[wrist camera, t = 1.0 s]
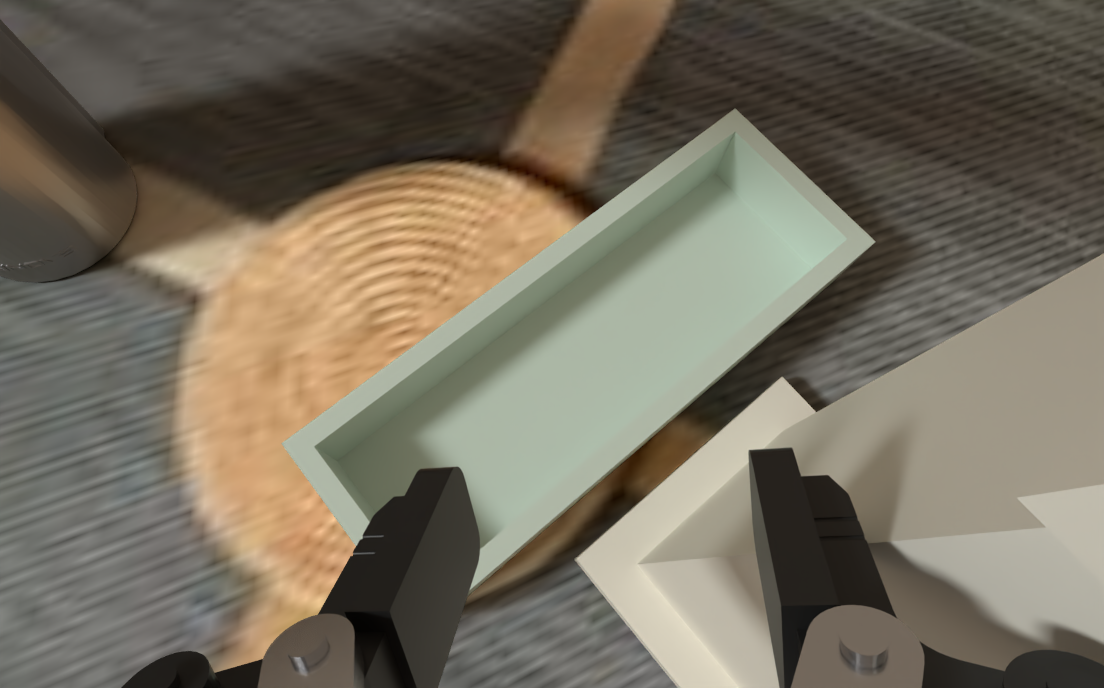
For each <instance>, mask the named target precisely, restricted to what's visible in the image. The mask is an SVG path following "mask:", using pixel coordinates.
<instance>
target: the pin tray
mask: <svg viewBox="0 0 1104 688" xmlns="http://www.w3.org/2000/svg"><path fill="white" fill-rule="evenodd" d="M874 243H875V241H874V240H873V239H872V238H871V237H870V236H869V235H868V234H867V233H866V232H865V231H864V230H863V229H862V228H861V227H860V226H859V225H857V224H856V223H855V222H854V221H853V220H852V219H851V218H850V217H849V216H848V215H847V214H846V213H845V212H844V211H843V210H842V209H841V208H840V207H839V206H837V205H836V204H835V203H834V202H833V201H832V200H831V199H830V198H829V197H828V196H827V195H826V194H825V193H824V192H823V191H822V190H821V189H820V188H818V187H817V186H816V185H815V184H814V183H813V182H812V181H811V180H810V179H809V178H808V177H807V176H806V175H805V174H804V173H803V172H802V171H801V170H800V169H798V168H797V167H796V166H795V165H794V164H793V163H792V162H791V161H790V160H789V159H788V158H787V157H786V156H785V155H784V154H783V153H782V152H781V151H779V150H778V149H777V148H776V147H775V146H774V145H773V144H772V143H771V142H770V141H769V140H768V139H767V138H766V137H765V136H764V135H763V134H762V133H761V132H759V131H758V130H757V129H756V128H755V127H754V126H753V125H752V124H751V123H750V122H749V121H748V120H747V119H746V118H745V117H744V116H743V115H742V114H740V113H739V112H738V111H737V110H736V109H734V110H733V111H731V112H730V113H728V114H727V115H726V116H724V117H723V118H722V119H720V120H719V121H718V122H716V123H715V124H714V125H712V126H711V127H710V128H708V129H707V130H705V131H704V132H703V133H701V134H700V135H699V136H697V137H696V138H695V139H693V140H692V141H691V142H689V143H688V144H686V145H685V146H684V147H682V148H681V149H680V150H678V151H677V152H676V153H674V154H673V155H672V156H670V157H669V158H668V159H666V160H665V161H663V162H662V163H661V164H659V165H658V166H657V167H655V168H654V169H653V170H651V171H650V172H649V173H647V174H646V175H644V176H643V177H642V178H640V179H639V180H638V181H636V182H635V183H634V184H632V185H631V186H630V187H628V188H627V189H626V190H624V191H623V192H621V193H620V194H619V195H617V196H616V197H615V198H613V199H612V200H611V201H609V202H608V203H607V204H605V205H604V206H603V207H601V208H600V209H598V210H597V211H596V212H594V213H593V214H592V215H590V216H589V217H588V218H586V219H585V220H584V221H582V222H581V223H579V224H578V225H577V226H575V227H574V228H573V229H571V230H570V231H569V232H567V233H566V234H565V235H563V236H562V237H561V238H559V239H558V240H556V241H555V242H554V243H552V244H551V245H550V246H548V247H547V248H546V249H544V250H543V251H542V252H540V253H539V254H537V255H536V256H535V257H533V258H532V259H531V260H529V261H528V262H527V263H525V264H524V265H523V266H521V267H520V268H519V269H517V270H516V271H514V272H513V273H512V274H510V275H509V276H508V277H506V278H505V279H504V280H502V281H501V282H500V283H498V284H497V285H495V286H494V287H493V288H491V289H490V290H489V291H487V292H486V293H485V294H483V295H482V296H481V297H479V298H478V299H477V300H475V301H474V302H472V303H471V304H470V305H468V306H467V307H466V308H464V309H463V310H462V311H460V312H459V313H458V314H456V315H455V316H454V317H452V318H451V319H449V320H448V321H447V322H445V323H444V324H443V325H441V326H440V327H439V328H437V329H436V330H435V331H433V332H432V333H430V334H429V335H428V336H426V337H425V338H424V339H422V340H421V341H420V342H418V343H417V344H416V345H414V346H413V347H412V348H410V349H409V350H407V351H406V352H405V353H403V354H402V355H401V356H399V357H398V358H397V359H395V360H394V361H393V362H391V363H390V364H388V365H387V366H386V367H384V368H383V369H382V370H380V371H379V372H378V373H376V374H375V375H374V376H372V377H371V378H370V379H368V380H367V381H365V382H364V383H363V384H361V385H360V386H359V387H357V388H356V389H355V390H353V391H352V392H351V393H349V394H348V395H347V396H345V397H344V398H342V399H341V400H340V401H338V402H337V403H336V404H334V405H333V406H332V407H330V408H329V409H328V410H326V411H325V412H323V413H322V414H321V415H319V416H318V417H317V418H315V419H314V420H313V421H311V422H310V423H309V424H307V425H306V426H305V427H303V428H302V429H300V430H299V431H298V432H296V433H295V434H294V435H292V436H291V437H290V438H288V439H287V440H286V441H284V442H283V443H281V444H282V445H283V446H284V448H285V449H286V450H287V452H288V453H289V455H290V456H291V457H292V459H293V460H294V461H295V463H296V464H297V466H298V467H299V468H300V470H301V471H302V472H303V474H304V475H305V477H306V478H307V479H308V481H309V482H310V483H311V485H312V486H313V488H314V489H315V490H316V492H317V493H318V494H319V496H320V497H321V499H322V500H323V501H324V503H325V504H326V505H327V507H328V508H329V510H330V511H331V512H332V514H333V515H334V517H335V518H336V519H337V521H338V522H339V523H340V525H341V526H342V528H343V529H344V530H345V532H346V533H347V534H348V536H349V537H350V539H351V540H352V541H353V543H354V544H355V545H356V546H357V544H358V542H359V541H360V539H363V536H362V535H363V533H364V532H365V530H366V528H367V526H368V524H369V523H370V521H371V519H372V517H373V516H374V514H375V513H376V512H378V511H379V510H380V509H381V508H382V507H383V506H384V505H385V504H386V503H387V502H389V501H390V500H391V499H392V498H393V497H395V496H405V494H406V492H407V490H408V488H409V486H410V484H411V482H412V480H413V478H414V476H415V474H416V473H417V471H418V470H419V469H425V468H442V467H459V468H460V469H461V470H462V472H463V474H464V478H465V481H466V485H467V489H468V492H469V496H470V500H471V503H472V507H473V511H474V515H475V518H476V522H477V526H478V530H479V536H480V556H479V562H478V565H477V569H476V572H475V575H474V578H473V581H472V584H471V587H470V590H469V593H468V595H470V594H471V593H472V592H473V591H474V590H475V589H477V588H478V587H479V586H480V585H481V584H482V583H484V582H485V581H486V580H487V579H488V578H489V577H491V576H492V575H493V574H494V573H495V572H496V571H498V570H499V569H500V568H501V567H502V566H503V565H504V564H506V563H507V562H508V561H509V560H510V559H511V558H513V557H514V556H515V555H516V554H517V553H518V552H520V551H521V550H522V549H523V548H524V547H525V546H527V545H528V544H529V543H530V542H531V541H532V540H534V539H535V538H536V537H537V536H538V535H539V534H541V533H542V532H543V531H544V530H545V529H546V528H547V527H549V526H550V525H551V524H552V523H553V522H554V521H556V520H557V519H558V518H559V517H560V516H561V515H563V514H564V513H565V512H566V511H567V510H568V509H570V508H571V507H572V506H573V505H574V504H575V503H577V502H578V501H579V500H580V499H581V498H582V497H584V496H585V495H586V494H587V493H588V492H589V491H590V490H592V489H593V488H594V487H595V486H596V485H597V484H599V483H600V482H601V481H602V480H603V479H604V478H606V477H607V476H608V475H609V474H610V473H611V472H613V471H614V470H615V469H616V468H617V467H618V466H620V465H621V464H622V463H623V462H624V461H625V460H627V459H628V458H629V457H630V456H631V455H632V454H634V453H635V452H636V451H637V450H638V449H639V448H640V447H642V446H643V445H644V444H645V443H646V442H647V441H649V440H650V439H651V438H652V437H653V436H654V435H656V434H657V433H658V432H659V431H660V430H661V429H663V428H664V427H665V426H666V425H667V424H668V423H670V422H671V421H672V420H673V419H674V418H675V417H677V416H678V415H679V414H680V413H681V412H682V411H683V410H685V409H686V408H687V407H688V406H689V405H690V404H692V403H693V402H694V401H695V400H696V399H697V398H699V397H700V396H701V395H702V394H703V393H704V392H706V391H707V390H708V389H709V388H710V387H711V386H713V385H714V384H715V383H716V382H717V381H718V380H720V379H721V378H722V377H723V376H724V375H725V374H726V373H728V372H729V371H730V370H731V369H732V368H733V367H735V366H736V365H737V364H738V363H739V362H740V361H742V360H743V359H744V358H745V357H746V356H747V355H749V354H750V353H751V352H752V351H753V350H754V349H756V348H757V347H758V346H759V345H760V344H761V343H763V342H764V341H765V340H766V339H767V338H768V337H769V336H771V335H772V334H773V333H774V332H775V331H776V330H778V329H779V328H780V327H781V326H782V325H783V324H785V323H786V322H787V321H788V320H789V319H790V318H792V317H793V316H794V315H795V314H796V313H797V312H799V311H800V310H801V309H802V308H803V307H804V306H806V305H807V304H808V303H809V302H810V301H811V300H813V299H814V298H815V297H816V296H817V295H818V294H819V293H821V292H822V291H823V290H824V289H825V288H826V287H828V286H829V285H830V284H831V283H832V282H833V281H834V280H836V279H837V278H838V277H839V276H840V275H841V274H842V273H843V272H844V271H845V270H846V269H847V268H848V267H849V266H850V265H851V264H853V263H854V262H855V261H856V260H857V259H858V258H859V257H860V256H861V255H862V254H863V253H864V252H865V251H866V250H867V249H868V248H870V247H871V246H872V245H873V244H874Z"/></svg>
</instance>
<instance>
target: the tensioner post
mask: <svg viewBox="0 0 1104 688" xmlns="http://www.w3.org/2000/svg"><path fill="white" fill-rule="evenodd" d="M789 447H792V449H793V451H794V454H795V458H796V461H797V464H798V468H799V471H800V474H801V476H817V475H829V476H830V477H831V478H832V479H833V480H834V481H835V482H836V483H837V484H838V485H840V486H841V487H842V488H843V489H844V490H845V491H846V492H847V493H848V494H849V496H850V499H851V501H852V504H853V507H854V509H855V512H856V514H857V519H858V521H859V522H860V525H861V527H862V530H863V533H864V536H865V540H867V543H868V546H869V548H870V551H871V553H872V556H873V559H874V561H875V564H876V566H877V569H878V572H879V574H880V577H881V579H882V582H883V585H884V587H885V590H886V592H887V595H888V598H889V600H890V603H891V605H892V608H893V610H894V612H895V615H896V617H897V618H898V619H899V620H900V621H901V622H903V623H904V624H905V625H906V626H908V628H909V629H910V630H911V631H912V632H913V633H914V634H915V635H916V637H917V638H918V640H919V641H920V642H922V643H923V644H925V645H926V646H928V647H930V648H932V649H933V650H935V651H937V652H939V653H942V654H944V655H947V656H949V657H952V658H955V659H959V660H962V661H966V662H970V663H974V664H978V665H982V666H986V667H990V668H994V669H998V670H1002V671H1005V670H1006V667H1007V666H1008V665H1009V663H1010V662H1011V661H1012V660H1013V659H1015V658H1016V657H1017V656H1019V655H1021V654H1024V653H1027V652H1031V651H1036V650H1058V651H1064V652H1069V653H1073V654H1077V655H1080V656H1083V657H1086V658H1089V659H1091V660H1094V661H1096V662H1098V663H1100V664H1102V665H1104V254H1102V255H1100V256H1099V257H1097V258H1095V259H1093V260H1091V261H1090V262H1088V263H1086V264H1084V265H1082V266H1080V267H1079V268H1077V269H1075V270H1073V271H1071V272H1070V273H1068V274H1066V275H1064V276H1062V277H1061V278H1059V279H1057V280H1055V281H1053V282H1051V283H1050V284H1048V285H1046V286H1044V287H1042V288H1041V289H1039V290H1037V291H1035V292H1033V293H1032V294H1030V295H1028V296H1026V297H1024V298H1022V299H1021V300H1019V301H1017V302H1015V303H1013V304H1012V305H1010V306H1008V307H1006V308H1004V309H1003V310H1001V311H999V312H997V313H995V314H993V315H992V316H990V317H988V318H986V319H984V320H983V321H981V322H979V323H977V324H975V325H974V326H972V327H970V328H968V329H966V330H964V331H963V332H961V333H959V334H957V335H955V336H954V337H952V338H950V339H948V340H946V341H945V342H943V343H941V344H939V345H937V346H935V347H934V348H932V349H930V350H928V351H926V352H925V353H923V354H921V355H919V356H917V357H916V358H914V359H912V360H910V361H908V362H907V363H905V364H903V365H901V366H899V367H897V368H896V369H894V370H892V371H890V372H888V373H887V374H885V375H883V376H881V377H879V378H878V379H876V380H874V381H872V382H870V383H868V384H867V385H865V386H863V387H861V388H859V389H858V390H856V391H854V392H852V393H850V394H849V395H847V396H845V397H843V398H841V399H839V400H838V401H836V402H834V403H832V404H830V405H829V406H827V407H825V408H823V409H821V410H820V411H818V412H816V411H815V410H814V409H813V408H812V407H811V406H810V405H809V404H808V403H807V402H806V401H805V400H804V399H803V398H802V397H801V396H800V395H799V394H798V393H797V392H796V390H795V389H794V388H793V387H792V386H791V385H790V384H789V383H788V382H787V381H786V380H785V379H784V378H783V377H781V378H780V379H778V380H777V381H776V382H774V383H773V384H772V385H771V386H770V387H768V388H767V389H766V390H765V391H764V392H763V393H762V394H761V395H759V396H758V397H757V398H756V399H755V400H754V401H753V402H752V403H750V404H749V405H748V406H747V407H746V408H745V409H744V410H742V411H741V412H740V413H739V414H738V415H737V416H736V417H735V418H733V419H732V420H731V421H730V422H729V423H728V424H727V425H726V426H724V427H723V428H722V429H721V430H720V431H719V432H718V433H716V434H715V435H714V436H713V437H712V438H711V439H710V440H709V441H707V442H706V443H705V444H704V445H703V446H702V447H701V448H700V449H698V450H697V451H696V452H695V453H694V454H693V455H692V456H690V457H689V458H688V459H687V460H686V461H685V462H684V463H683V464H681V465H680V466H679V467H678V468H677V469H676V470H675V471H674V472H672V473H671V474H670V475H669V476H668V477H667V478H666V479H664V480H663V481H662V482H661V483H660V484H659V485H658V486H657V487H655V488H654V489H653V490H652V491H651V492H650V493H649V494H648V495H646V496H645V497H644V498H643V499H642V500H641V501H640V502H638V503H637V504H636V505H635V506H634V507H633V508H632V509H631V510H629V511H628V512H627V513H626V514H625V515H624V516H623V517H622V518H620V519H619V520H618V521H617V522H616V523H615V524H614V525H612V526H611V527H610V528H609V529H608V530H607V531H606V532H605V533H603V534H602V535H601V536H600V537H599V538H598V539H597V540H596V541H594V542H593V543H592V544H591V545H590V546H589V547H588V548H586V549H585V550H584V551H583V552H582V553H581V554H580V555H579V556H577V557H576V558H575V559H574V560H575V561H576V562H577V564H578V565H579V566H580V567H581V569H582V570H583V571H584V572H585V574H586V575H587V576H588V577H589V579H590V580H591V581H592V582H593V584H594V585H595V586H596V587H597V588H598V590H599V591H600V592H601V593H602V595H603V596H604V597H605V598H606V600H607V601H608V602H609V603H610V605H611V606H612V607H613V608H614V610H615V611H616V612H617V613H618V614H619V616H620V617H621V618H622V619H623V621H624V622H625V623H626V624H627V626H628V627H629V628H630V629H631V631H632V632H633V633H634V634H635V636H636V637H637V638H638V639H639V641H640V642H641V643H642V644H643V645H644V647H645V648H646V649H647V650H648V652H649V653H650V654H651V655H652V657H653V658H654V659H655V660H656V662H657V663H658V664H659V665H660V667H661V668H662V669H663V670H664V672H665V673H666V674H667V675H668V676H669V678H670V679H671V680H672V681H673V683H674V684H675V685H676V686H677V688H779V682H778V676H777V671H776V665H775V659H774V654H773V648H772V642H771V636H770V631H769V625H768V619H767V614H766V608H765V602H764V596H763V591H762V585H761V579H760V574H759V568H758V562H757V556H756V550H755V542H754V533H753V523H752V507H751V491H750V474H749V456H748V452H749V450H756V449H773V448H789Z"/></svg>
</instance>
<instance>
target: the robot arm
mask: <svg viewBox="0 0 1104 688" xmlns="http://www.w3.org/2000/svg"><path fill="white" fill-rule="evenodd" d="M136 202H137V189H136V181H135V178H134V176H133V173H132V170H131V168H130V167H129V165H128V164H127V162H126V161H125V160H124V158H123V157H122V156H121V155H120V154H119V153H118V152H117V151H116V150H115V149H114V148H113V146H112V145H111V144H110V143H109V142H108V141H107V140H106V139H105V136H104V130H103V128H102V127H101V126H100V125H99V124H98V123H97V122H96V121H95V120H94V119H93V118H92V117H91V115H90V114H89V113H88V112H87V111H86V110H85V109H84V108H83V107H82V106H81V105H80V104H79V103H78V102H77V101H76V99H75V98H74V97H73V96H72V95H71V94H70V93H69V92H68V91H67V90H66V89H65V88H64V87H63V86H62V85H61V84H60V82H59V81H58V80H57V79H56V78H55V77H54V76H53V75H52V74H51V73H50V72H49V71H48V70H47V69H46V68H45V66H44V65H43V64H42V63H41V62H40V61H39V60H38V59H37V58H36V57H35V56H34V55H33V54H32V53H31V52H30V50H29V49H28V48H27V47H26V46H25V45H24V44H23V43H22V42H21V41H20V40H19V39H18V38H17V37H16V36H15V35H14V33H13V32H12V31H11V30H10V29H9V28H8V27H7V26H6V25H5V24H4V23H3V22H2V21H1V20H0V276H1V277H4V278H8V279H11V280H15V281H20V282H35V283H36V282H45V281H53V280H58V279H61V278H64V277H68V276H71V275H74V274H76V273H78V272H80V271H82V270H84V269H86V268H88V267H90V266H92V265H93V264H95V263H96V262H97V261H99V260H100V259H101V258H103V257H104V256H106V255H107V254H108V253H109V252H110V251H111V250H112V249H113V248H114V247H115V246H116V244H117V243H118V242H119V241H120V240H121V238H122V237H123V235H124V234H125V232H126V231H127V229H128V228H129V226H130V223H131V221H132V218H133V215H134V213H135V209H136ZM748 456H749V474H750V491H751V507H752V523H753V533H754V542H755V550H756V556H757V562H758V568H759V574H760V579H761V585H762V591H763V596H764V602H765V608H766V614H767V619H768V625H769V631H770V636H771V642H772V648H773V654H774V659H775V665H776V671H777V676H778V682H779V688H1104V665H1102V664H1100V663H1098V662H1096V661H1094V660H1091V659H1089V658H1086V657H1083V656H1080V655H1077V654H1073V653H1069V652H1064V651H1058V650H1036V651H1031V652H1027V653H1024V654H1021V655H1019V656H1017V657H1016V658H1015V659H1013V660H1012V661H1011V662H1010V663H1009V665H1008V666H1007V667H1006V670H1005V671H1002V670H998V669H994V668H990V667H986V666H982V665H978V664H974V663H970V662H966V661H962V660H959V659H955V658H952V657H949V656H947V655H944V654H942V653H939V652H937V651H935V650H933V649H932V648H930V647H928V646H926V645H925V644H923V643H922V642H920V641H919V640H918V638H917V637H916V635H915V634H914V633H913V632H912V631H911V630H910V629H909V628H908V626H906V625H905V624H904V623H903V622H901V621H900V620H899V619H898V618H897V617H896V615H895V612H894V610H893V608H892V605H891V603H890V600H889V598H888V595H887V592H886V590H885V587H884V585H883V582H882V579H881V577H880V574H879V572H878V569H877V566H876V564H875V561H874V559H873V556H872V553H871V551H870V548H869V546H868V543H867V540H865V536H864V533H863V530H862V527H861V525H860V522H859V521H858V519H857V514H856V512H855V509H854V507H853V504H852V501H851V499H850V496H849V494H848V493H847V492H846V491H845V490H844V489H843V488H842V487H841V486H840V485H838V484H837V483H836V482H835V481H834V480H833V479H832V478H831V477H830V476H829V475H817V476H801V474H800V471H799V468H798V464H797V461H796V458H795V454H794V451H793V449H792V447H789V448H773V449H756V450H749V452H748ZM362 536H363V539H360V541H359V542H358V544H357V546H356V548H355V549H354V551H353V556H351V557H350V558H349V560H348V562H347V564H346V566H345V567H344V569H343V571H342V573H341V574H340V576H339V578H338V580H337V582H336V583H335V585H334V587H333V589H332V591H331V592H330V594H329V596H328V598H327V600H326V601H325V603H324V605H323V607H322V608H321V610H320V612H319V614H318V615H315V616H311V617H309V618H306V619H303V620H301V621H299V622H297V623H296V624H294V625H292V626H291V627H289V628H288V629H286V630H285V631H284V632H283V633H281V634H280V635H279V636H278V637H277V638H276V639H275V640H274V642H273V643H272V644H271V645H270V647H269V648H268V650H267V652H266V654H265V656H264V658H263V659H261V660H258V661H255V662H251V663H248V664H244V665H241V666H237V667H234V668H230V669H227V670H223V671H220V672H216V673H214V671H213V669H212V667H211V665H210V663H209V662H208V660H207V659H206V657H205V656H204V655H202V654H200V653H198V652H192V651H185V652H178V653H174V654H171V655H168V656H165V657H163V658H160V659H158V660H156V661H155V662H153V663H151V664H149V665H148V666H146V667H145V668H143V669H142V670H140V671H139V672H138V673H137V674H135V675H134V676H133V677H132V678H131V679H130V680H129V681H128V682H127V683H126V684H125V685H124V686H123V687H122V688H438V685H439V682H440V679H441V676H442V673H443V670H444V667H445V664H446V661H447V658H448V655H449V652H450V649H451V645H452V642H453V639H454V636H455V633H456V630H457V627H458V624H459V621H460V618H461V615H462V612H463V609H464V605H465V602H466V599H467V596H468V593H469V590H470V587H471V584H472V581H473V578H474V575H475V572H476V569H477V565H478V562H479V556H480V536H479V530H478V526H477V522H476V518H475V515H474V511H473V507H472V503H471V500H470V496H469V492H468V489H467V485H466V481H465V478H464V474H463V472H462V470H461V469H460V468H459V467H442V468H425V469H419V470H418V471H417V473H416V474H415V476H414V478H413V480H412V482H411V484H410V486H409V488H408V490H407V492H406V494H405V496H395V497H393V498H392V499H391V500H390V501H389V502H387V503H386V504H385V505H384V506H383V507H382V508H381V509H380V510H379V511H378V512H376V513H375V514H374V516H373V517H372V519H371V521H370V523H369V524H368V526H367V528H366V530H365V532H364V533H363V535H362Z"/></svg>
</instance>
